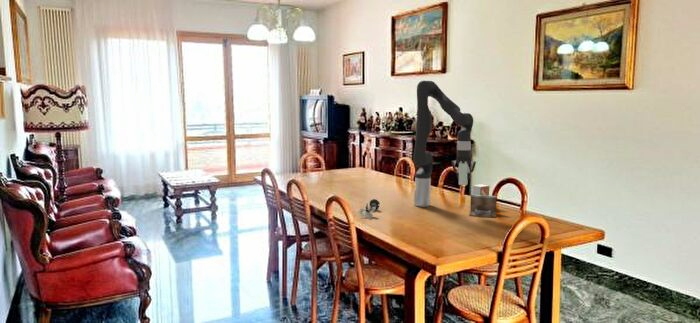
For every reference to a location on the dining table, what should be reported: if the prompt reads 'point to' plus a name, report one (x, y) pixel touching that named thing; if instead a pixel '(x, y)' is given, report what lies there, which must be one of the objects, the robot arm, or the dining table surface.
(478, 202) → the cleat stand
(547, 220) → the dining table surface
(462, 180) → the block
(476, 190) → the small box
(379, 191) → the dining table surface
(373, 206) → the artificial flower
